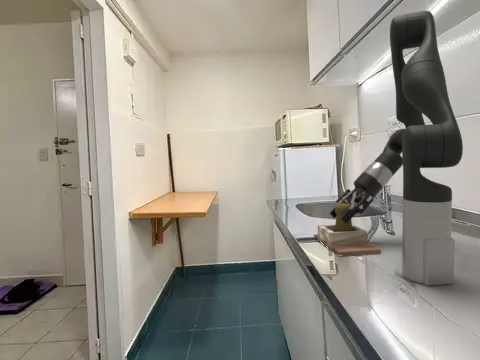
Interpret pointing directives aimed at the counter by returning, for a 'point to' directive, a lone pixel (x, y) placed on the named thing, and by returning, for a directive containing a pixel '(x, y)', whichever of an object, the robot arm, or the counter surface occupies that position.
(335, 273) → the counter surface
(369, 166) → the robot arm
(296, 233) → the counter surface
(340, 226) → the cork
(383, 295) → the counter surface
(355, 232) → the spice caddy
